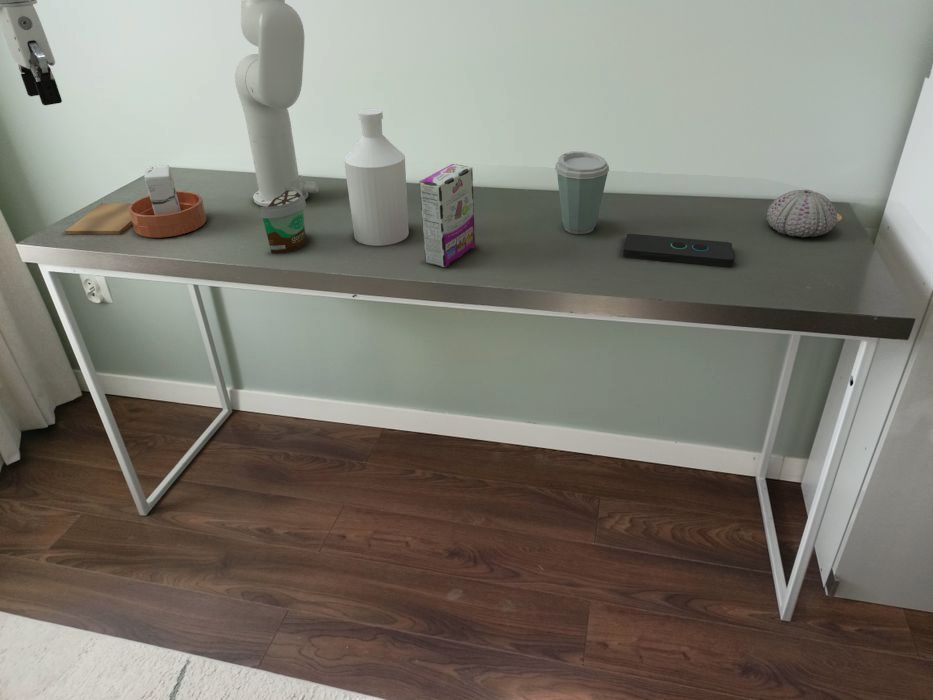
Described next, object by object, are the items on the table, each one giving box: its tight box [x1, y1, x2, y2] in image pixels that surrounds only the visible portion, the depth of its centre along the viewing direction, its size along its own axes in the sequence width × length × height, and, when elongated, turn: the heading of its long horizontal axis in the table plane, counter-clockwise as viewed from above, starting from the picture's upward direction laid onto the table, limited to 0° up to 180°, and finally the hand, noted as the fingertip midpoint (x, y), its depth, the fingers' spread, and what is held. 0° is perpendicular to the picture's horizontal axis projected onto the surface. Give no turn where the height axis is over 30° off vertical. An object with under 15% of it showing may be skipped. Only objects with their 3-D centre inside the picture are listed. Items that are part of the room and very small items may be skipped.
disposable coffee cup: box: [554, 151, 610, 235], centre depth 142 cm, size 11×11×15 cm
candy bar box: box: [418, 163, 476, 268], centre depth 132 cm, size 11×5×16 cm, turn 148°
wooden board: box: [64, 202, 133, 235], centre depth 155 cm, size 12×16×1 cm
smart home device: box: [622, 233, 734, 268], centre depth 134 cm, size 8×2×20 cm
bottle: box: [343, 108, 410, 247], centre depth 139 cm, size 12×12×25 cm
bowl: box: [128, 190, 208, 239], centre depth 151 cm, size 15×15×5 cm
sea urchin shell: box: [766, 189, 838, 238], centre depth 141 cm, size 13×14×8 cm
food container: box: [259, 187, 307, 254], centre depth 140 cm, size 12×6×10 cm, turn 168°
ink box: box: [143, 164, 181, 215], centre depth 149 cm, size 9×5×12 cm, turn 20°
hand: (45, 99), depth 128 cm, fingers open, 9 cm apart
